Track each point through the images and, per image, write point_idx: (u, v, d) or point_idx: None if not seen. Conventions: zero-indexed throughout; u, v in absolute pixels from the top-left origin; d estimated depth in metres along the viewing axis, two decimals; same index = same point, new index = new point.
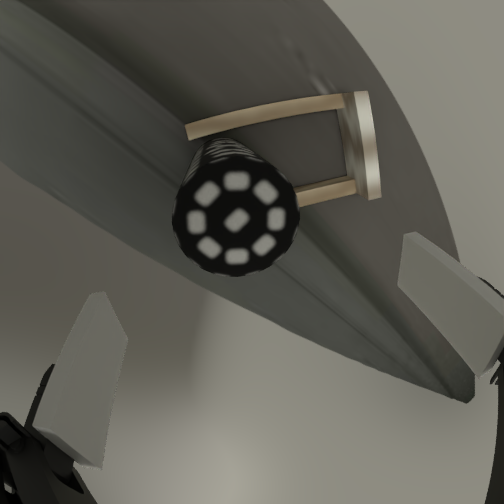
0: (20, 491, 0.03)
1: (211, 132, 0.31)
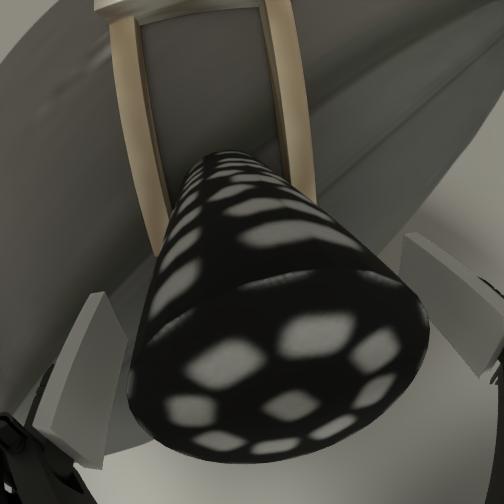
0: (20, 491, 0.03)
1: (167, 221, 0.22)
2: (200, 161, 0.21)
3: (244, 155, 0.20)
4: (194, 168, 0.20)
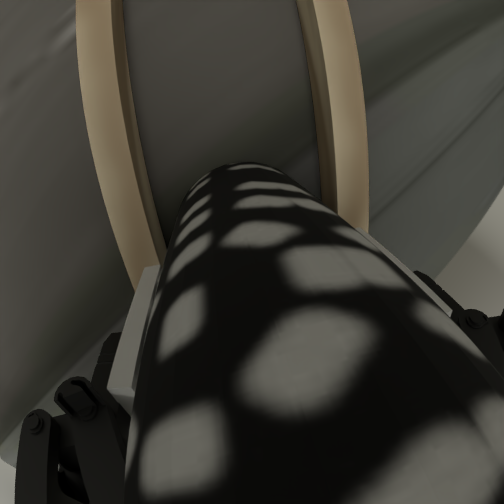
0: (80, 462, 0.04)
1: None
2: (205, 179, 0.14)
3: (273, 173, 0.13)
4: (196, 192, 0.13)
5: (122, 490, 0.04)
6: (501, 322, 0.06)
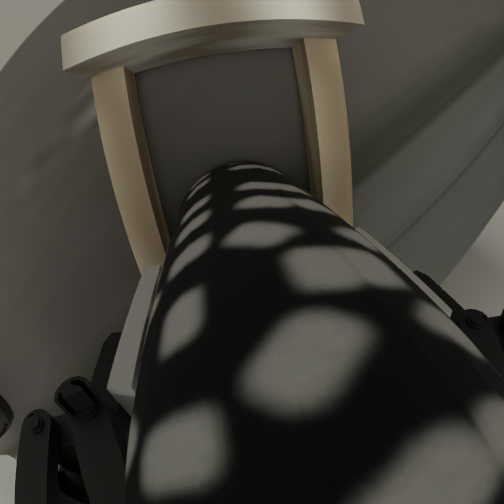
0: (80, 462, 0.04)
1: None
2: (205, 179, 0.14)
3: (273, 173, 0.13)
4: (196, 192, 0.13)
5: (122, 490, 0.04)
6: (501, 322, 0.06)
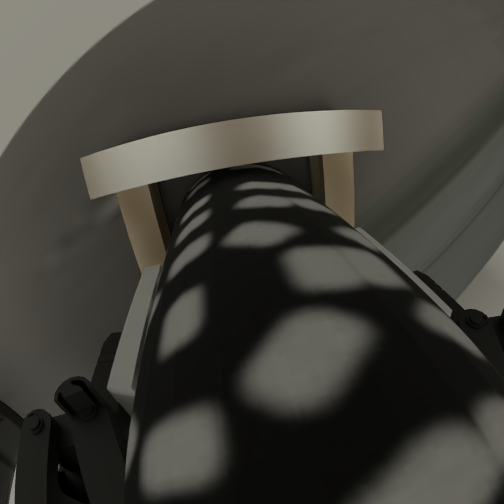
0: (80, 462, 0.04)
1: None
2: (205, 179, 0.14)
3: (273, 173, 0.13)
4: (196, 192, 0.13)
5: (122, 490, 0.04)
6: (501, 322, 0.06)
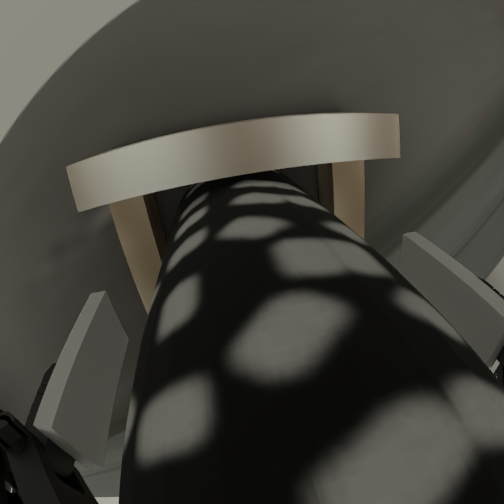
0: (20, 491, 0.03)
1: None
2: None
3: (269, 172, 0.14)
4: (194, 191, 0.13)
5: None
6: None
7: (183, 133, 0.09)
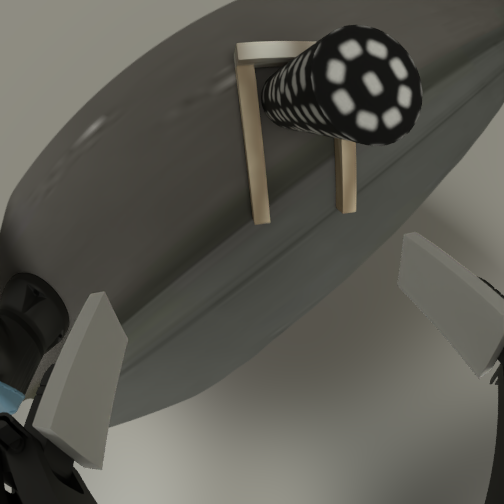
0: (20, 491, 0.03)
1: (267, 201, 0.35)
2: None
3: None
4: None
5: None
6: None
7: (284, 41, 0.23)
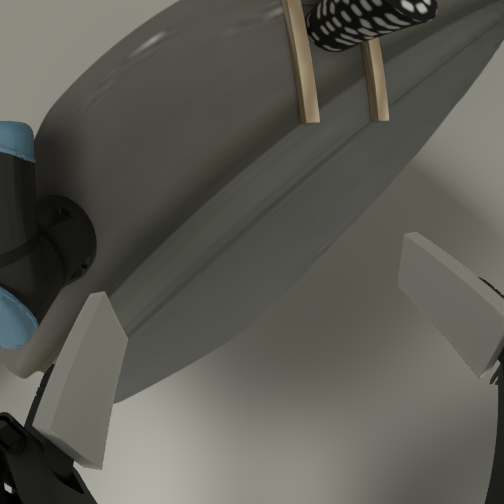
0: (19, 491, 0.03)
1: (316, 103, 0.35)
2: None
3: None
4: None
5: None
6: None
7: None
